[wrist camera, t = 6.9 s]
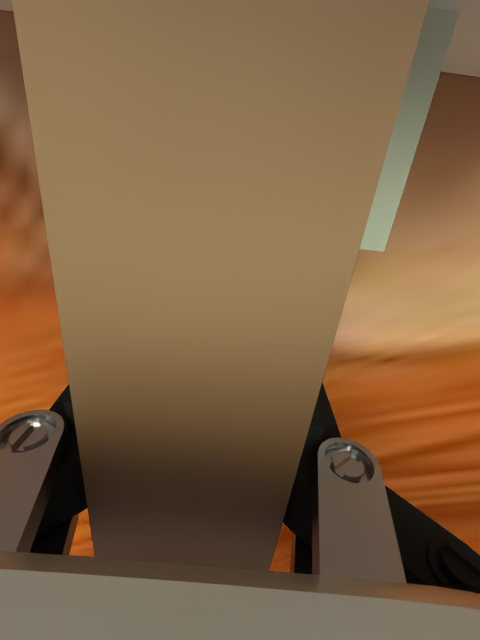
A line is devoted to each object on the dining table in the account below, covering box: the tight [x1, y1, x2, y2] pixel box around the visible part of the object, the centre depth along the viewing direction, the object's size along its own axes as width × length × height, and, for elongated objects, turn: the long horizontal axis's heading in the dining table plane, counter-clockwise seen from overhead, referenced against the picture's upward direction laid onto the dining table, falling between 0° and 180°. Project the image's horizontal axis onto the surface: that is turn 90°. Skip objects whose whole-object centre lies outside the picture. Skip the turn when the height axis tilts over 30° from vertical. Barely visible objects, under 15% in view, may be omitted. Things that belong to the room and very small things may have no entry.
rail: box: [12, 0, 429, 571], centre depth 8 cm, size 14×4×5 cm, turn 173°
